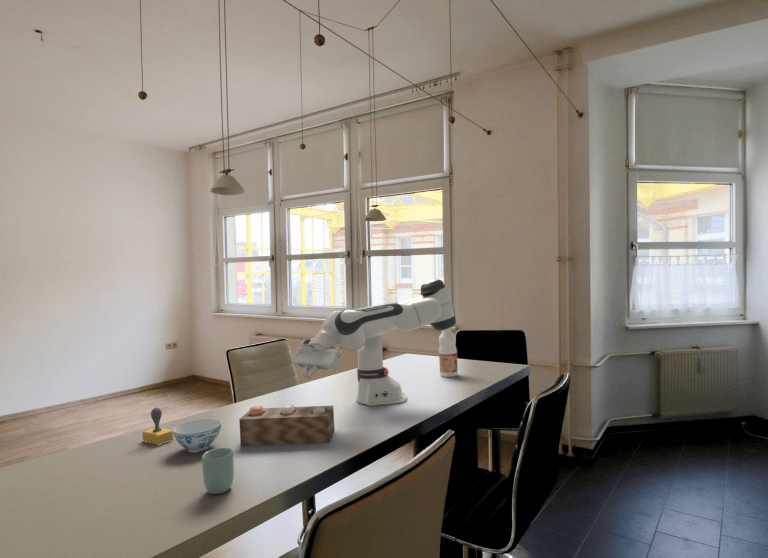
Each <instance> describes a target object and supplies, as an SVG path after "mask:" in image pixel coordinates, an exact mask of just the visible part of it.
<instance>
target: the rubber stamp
mask: <svg viewBox="0 0 768 558" xmlns="http://www.w3.org/2000/svg"><path fill="white" fill-rule="evenodd" d="M162 412H163V411H162V409H161V408H159V407H154V408H153V409H152V410H151V412H150V417H151V419H152V421H153V423H154V427H153V428H150V429H147V430H144V431H142V441H143V440H144V441H147V442H150V443H149V444H151V443H153V444H152V445H155V444H157V445H156V446H158V445H159V444H161V443H164V442H167V441H170V440H173V441H174V433H173V429H169V428H163V427H160V422H161V418H162V416H163V415H162ZM144 441H143V442H144ZM147 442H146V443H147Z"/></svg>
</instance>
